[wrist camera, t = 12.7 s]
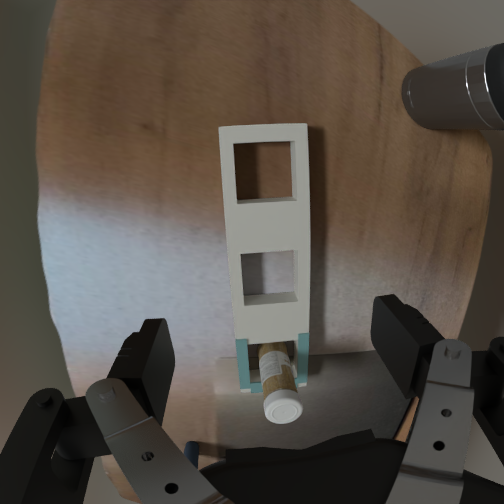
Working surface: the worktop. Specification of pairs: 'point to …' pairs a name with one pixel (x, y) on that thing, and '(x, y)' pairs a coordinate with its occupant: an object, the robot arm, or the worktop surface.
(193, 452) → the vaping device
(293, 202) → the rail
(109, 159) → the worktop surface
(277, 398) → the sprinkles bottle
